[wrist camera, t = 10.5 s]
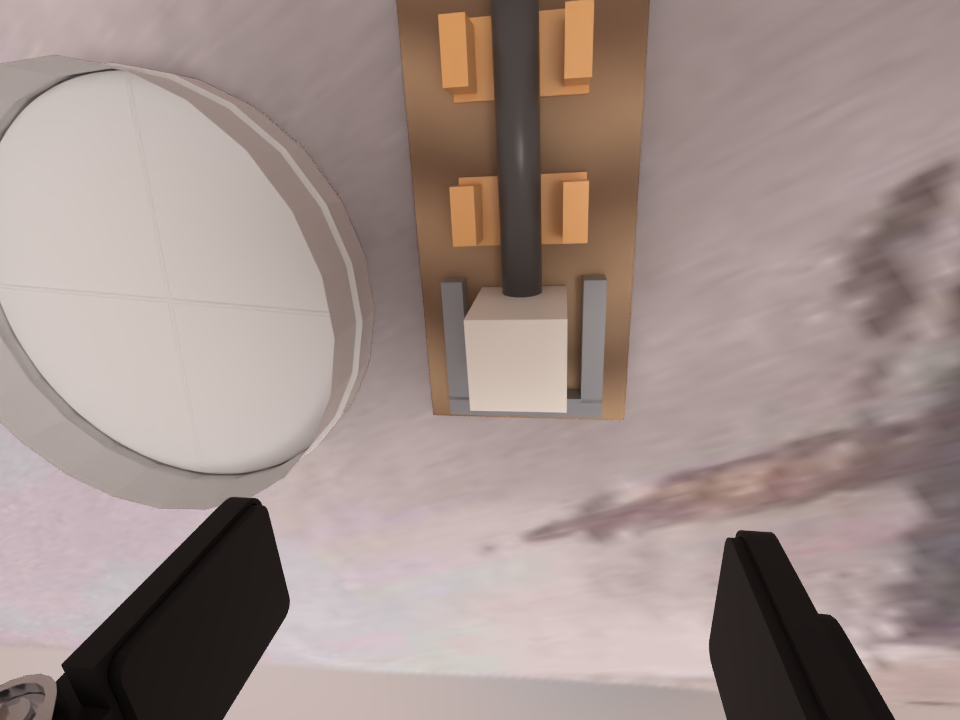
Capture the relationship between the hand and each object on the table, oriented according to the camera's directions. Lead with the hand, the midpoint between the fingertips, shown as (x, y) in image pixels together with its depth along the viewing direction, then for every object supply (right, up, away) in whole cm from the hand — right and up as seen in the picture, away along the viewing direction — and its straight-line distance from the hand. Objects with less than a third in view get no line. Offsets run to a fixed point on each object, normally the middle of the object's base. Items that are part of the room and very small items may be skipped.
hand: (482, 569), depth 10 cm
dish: (-16, +8, +18) cm, 26 cm away
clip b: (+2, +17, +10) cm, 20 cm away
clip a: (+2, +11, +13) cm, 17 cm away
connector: (+2, +12, +12) cm, 17 cm away
